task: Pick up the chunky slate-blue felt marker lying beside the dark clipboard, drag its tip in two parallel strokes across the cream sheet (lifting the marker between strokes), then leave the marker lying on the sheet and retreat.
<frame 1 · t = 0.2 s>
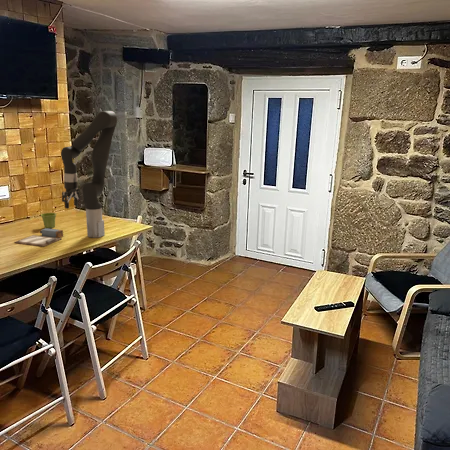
hand: (71, 206, 255), 17 cm above the table, tool pointing down, fingers open, 8 cm apart
clipboard: (38, 241, 244), on the table
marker: (52, 236, 253), on the table
plant pot: (49, 227, 272), on the table
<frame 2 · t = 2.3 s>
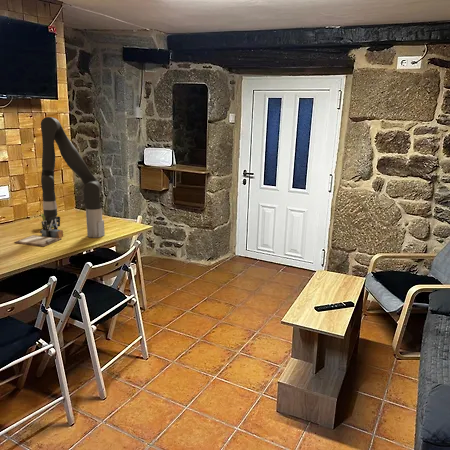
hand: (52, 235, 253), 1 cm above the table, tool pointing down, fingers open, 5 cm apart
nothing on the table moved.
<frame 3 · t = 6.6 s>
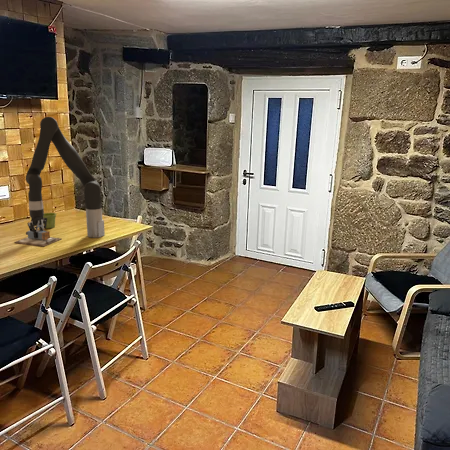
hand: (39, 236, 244), 2 cm above the table, tool pointing down, fingers closed on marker, 4 cm apart
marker: (39, 237, 245), point 1 cm above the table, touching gripper
everything else where it was.
when the fingers open (2 cm above the table, at t = 10.7 s): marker stays where it is, resting on clipboard.
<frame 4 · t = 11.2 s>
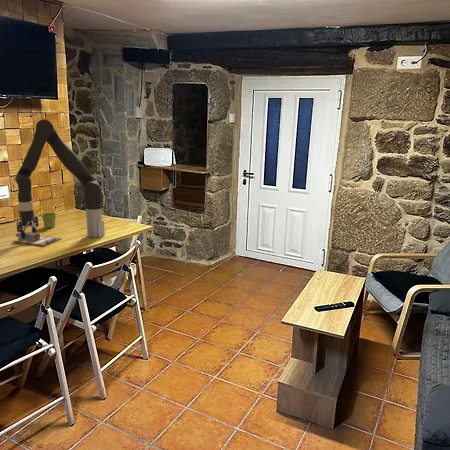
hand: (29, 236, 242), 3 cm above the table, tool pointing down, fingers open, 8 cm apart
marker: (29, 239, 243), point 1 cm above the table, touching clipboard
everything else where it was.
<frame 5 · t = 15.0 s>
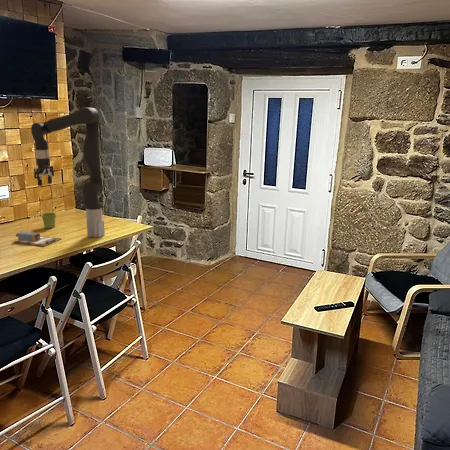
hand: (45, 184, 253), 30 cm above the table, tool pointing down, fingers open, 8 cm apart
nothing on the table moved.
at the end: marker inside the target area on the clipboard (5.0 cm from its centre), point 0.8 cm above the clipboard's base; the gripper is holding nothing; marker moved 14.1 cm from its start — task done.
